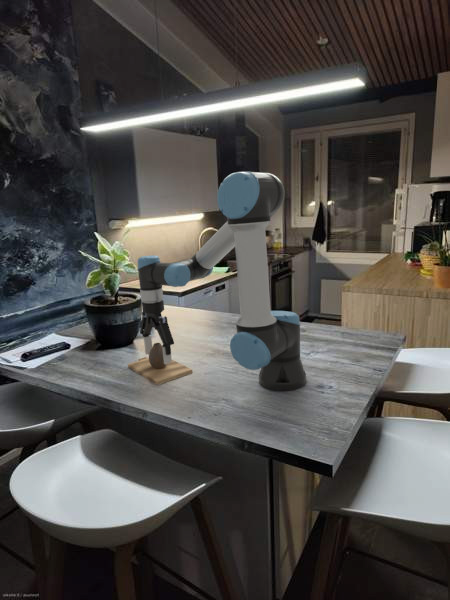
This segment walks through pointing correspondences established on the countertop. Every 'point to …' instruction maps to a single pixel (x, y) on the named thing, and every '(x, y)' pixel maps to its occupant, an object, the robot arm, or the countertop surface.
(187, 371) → the board
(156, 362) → the vase
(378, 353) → the countertop surface
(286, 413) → the countertop surface
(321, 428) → the countertop surface
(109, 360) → the countertop surface
